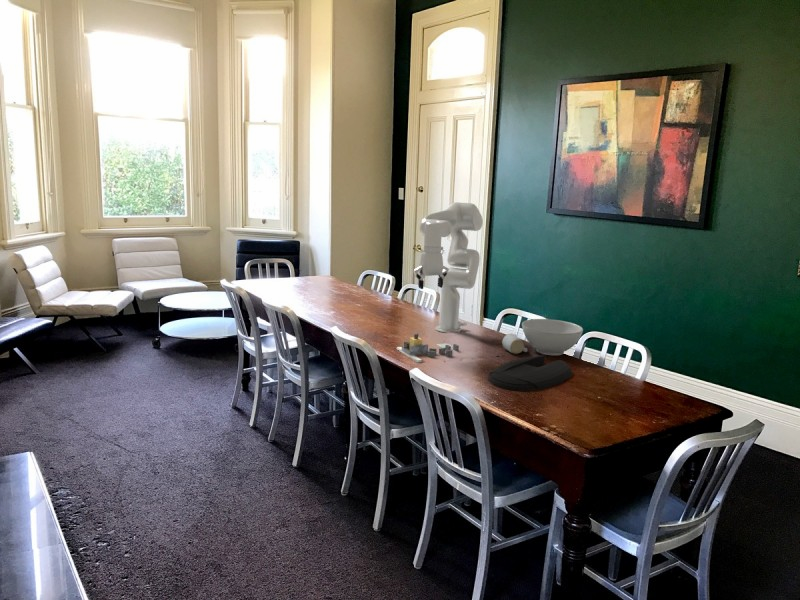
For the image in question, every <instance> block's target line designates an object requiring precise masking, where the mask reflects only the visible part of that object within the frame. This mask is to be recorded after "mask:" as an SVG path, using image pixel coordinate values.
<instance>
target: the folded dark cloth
mask: <svg viewBox="0 0 800 600" xmlns="http://www.w3.org/2000/svg"><path fill="white" fill-rule="evenodd" d="M545 362H546V355H534V356H532V355H531V356H527V357H523V358H522V357H521V358H518V359H515V360H512V361H509V362H506V363H504V364H502V365H500V366H498V367H496V368H495V369H493V370H491V371H490V373H489V375H488V376H489V377H488V381H489V383H491V384H492V385H494V386H496V387H497V386H498V388H501V389H503V390H510V391H519V392H527V391H529V392H530V391H540V390H545V389H548V388H551V387H554V386H557V385H559V384H561V383H563V382H565V381H566V380H568V379H569V378H571V376H572V375H573V370H572V368H571V367H570V366H569V364H568V363H567V362H565V361H564V360H562V359H559V360H553V361H551V362H548V363H545ZM541 365H542V366H541Z"/></svg>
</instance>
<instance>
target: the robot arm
mask: <svg viewBox="0 0 800 600" xmlns="http://www.w3.org/2000/svg"><path fill="white" fill-rule="evenodd" d="M483 222H484V221H483V216H482V214H481V212H480V210H479V208H478V207H477V205H475V204H474V203H471V202H453V203H451V204H449V205H448V206H447V207H446V208H445V209H444V210H440V211H437V212H434V213H429V214H427V215H426V216H425V217H424V218H423V219H422V220H421V222H420V225H419V230H420V233H421V234H422V235H423V236H424V238H423V252H421V253H420V258H419V259H420V260H419V266H418V267H417V268H414V269H413V273H414V277H415V278H417V280H418V282H417V283H418V284H417V285H418V286H417V287H418V288H419V289H421V290H424V285H425V284H424V283H425V281H424V278H426V277H430V276H431V277H432V276H438V278H437V286H438V287H439V288H440V304H439V305H440V306H439V321H438V325H436V326H435V330H436V331H438V332H441V333H445V334H446V333H447V334H448V333H450V334H451V333H460V332H461V331H462V328H461V327H466V326H467V322H466V321H459V319H460V318H459V317H460V302H461V301H460V300H461V296H460V293H459V290H458V289H467V290H470V289H473V288H474V286H475V284H476V280H477V275H478V271H479V267H480V259H481V258H480V257H481V256H480V253H479V251H478V250H477V249H472V248H468V245H469V239H468V237H467V235H466V233H465V232H464V231H471V232H472V231H473V232H476V231H477V232H479V231H480V230H481V229H482V227H483V225H484V224H483ZM449 236H451V241H450V246H449V249H448V255H447V259H446V261H447V264H448V265H449V266H451V267H447V266H444V259H443V253H442V251H443V250H444V247H443V246H442V238H447V237H449ZM457 288H458V289H457Z"/></svg>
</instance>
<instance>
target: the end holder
mask: <svg viewBox="0 0 800 600" xmlns="http://www.w3.org/2000/svg"><path fill="white" fill-rule="evenodd" d="M409 345H410V340H403V341H402V346H401V347H402V351H404V352H405V353H407V354H408V355H415V356H417V355H428V351H429V344H426V343H425V344H424V343H422V345H411V346H410V350H409Z"/></svg>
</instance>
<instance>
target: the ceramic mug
mask: <svg viewBox="0 0 800 600" xmlns="http://www.w3.org/2000/svg"><path fill="white" fill-rule="evenodd" d="M501 343H502V344H501V345H502V347H503V348H504V349H505V350H506V351H508V352H510V353H511V354H513V355H518V354H520V353H522V352H524V353H528V351H529V350H528V348H527V347H525V343H524V341H523V340H522V339H521V338H520V337H519V336H517V335H516V334H514V333H507V334H506V335H505V336H504V337H503V338H502V341H501Z"/></svg>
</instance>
